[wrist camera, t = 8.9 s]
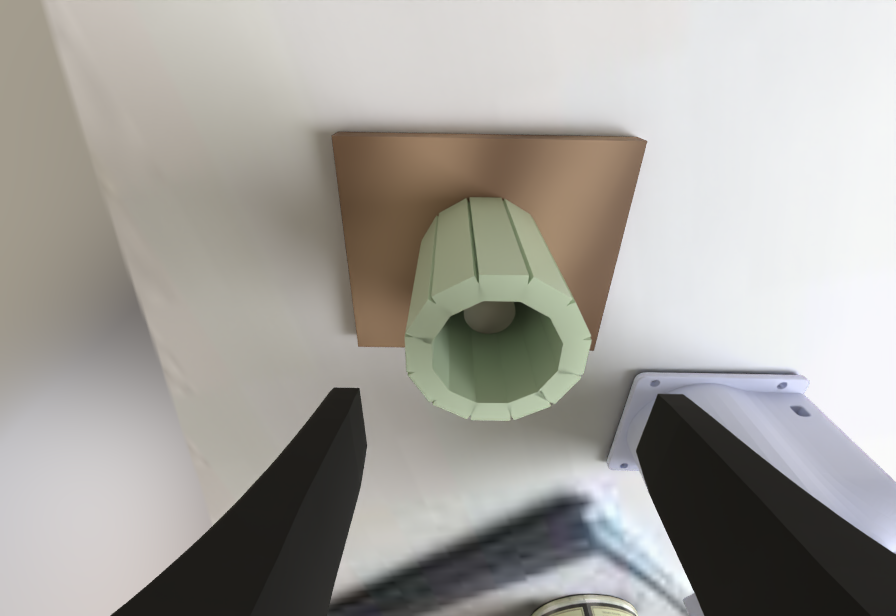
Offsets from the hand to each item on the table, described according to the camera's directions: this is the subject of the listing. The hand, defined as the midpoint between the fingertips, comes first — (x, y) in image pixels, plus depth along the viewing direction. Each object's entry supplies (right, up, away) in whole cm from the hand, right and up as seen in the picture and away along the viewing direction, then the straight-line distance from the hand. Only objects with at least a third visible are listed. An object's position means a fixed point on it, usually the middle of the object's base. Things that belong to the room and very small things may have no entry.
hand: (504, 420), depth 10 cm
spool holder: (0, +5, +9) cm, 10 cm away
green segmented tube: (0, +5, +8) cm, 9 cm away
